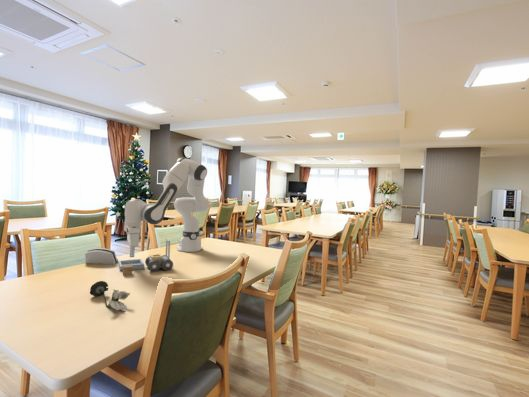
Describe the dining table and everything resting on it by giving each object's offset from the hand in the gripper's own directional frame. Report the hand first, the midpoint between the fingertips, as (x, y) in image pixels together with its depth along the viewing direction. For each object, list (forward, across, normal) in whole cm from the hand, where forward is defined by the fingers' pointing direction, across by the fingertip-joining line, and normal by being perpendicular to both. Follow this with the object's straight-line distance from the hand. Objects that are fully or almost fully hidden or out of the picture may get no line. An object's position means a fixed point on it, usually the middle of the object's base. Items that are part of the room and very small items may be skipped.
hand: (132, 251), depth 153 cm
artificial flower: (+10, +47, -12) cm, 49 cm away
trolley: (+9, +8, +13) cm, 18 cm away
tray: (+9, -1, 0) cm, 9 cm away
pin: (+3, 0, 0) cm, 3 cm away
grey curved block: (+9, -15, -14) cm, 23 cm away
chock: (+9, +11, -3) cm, 15 cm away
